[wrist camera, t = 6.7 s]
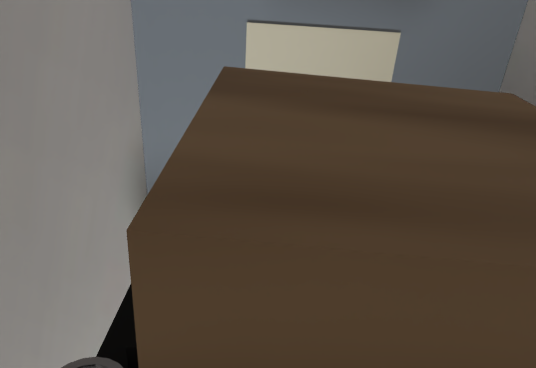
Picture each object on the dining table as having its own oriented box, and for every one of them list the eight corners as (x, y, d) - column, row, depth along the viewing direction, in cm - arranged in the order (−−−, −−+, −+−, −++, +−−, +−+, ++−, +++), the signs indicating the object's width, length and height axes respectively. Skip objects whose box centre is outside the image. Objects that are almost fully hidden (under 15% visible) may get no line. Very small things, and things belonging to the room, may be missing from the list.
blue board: (437, 253, 23) (444, 265, 22) (156, 234, 23) (151, 245, 22) (521, -22, 17) (536, -21, 16) (135, -48, 17) (126, -49, 16)
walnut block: (406, 379, 13) (495, 673, 7) (213, 363, 13) (163, 648, 7) (512, 93, 9) (884, 297, 3) (223, 66, 8) (126, 230, 3)
